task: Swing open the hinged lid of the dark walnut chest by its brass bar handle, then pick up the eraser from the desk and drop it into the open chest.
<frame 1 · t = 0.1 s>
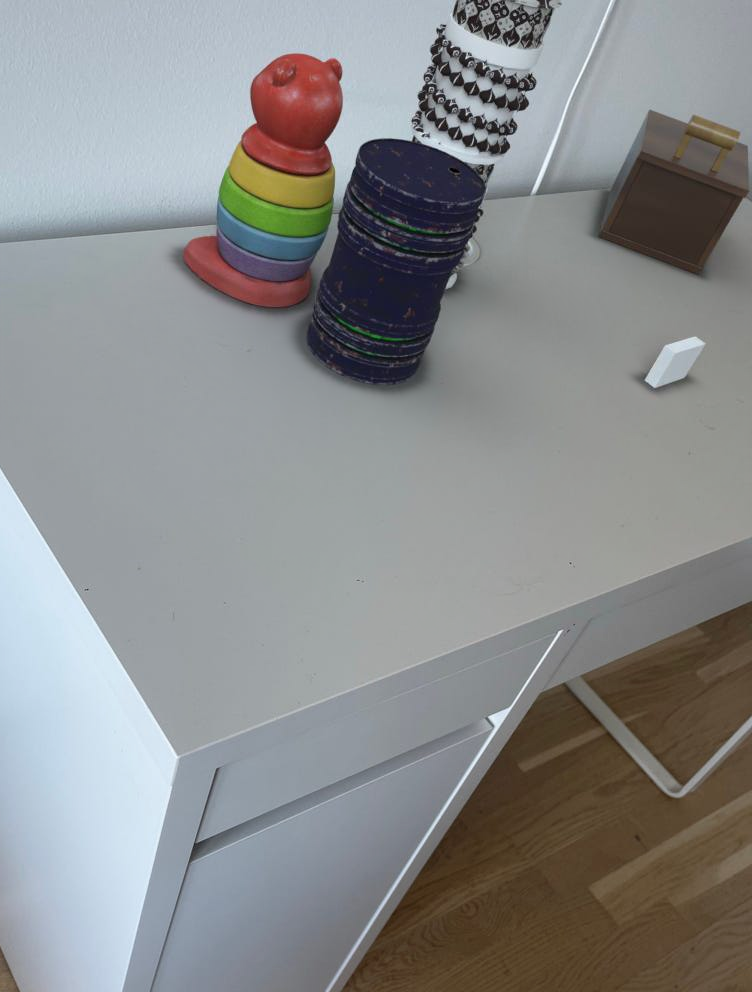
chest: (651, 232, 113), on the table
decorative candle: (412, 268, 94), on the table
lid: (704, 132, 104), point 11 cm above the table, hinge at 0.0°
eraser: (663, 380, 90), on the table
stacking bear: (255, 279, 86), on the table
storage jar: (362, 351, 82), on the table
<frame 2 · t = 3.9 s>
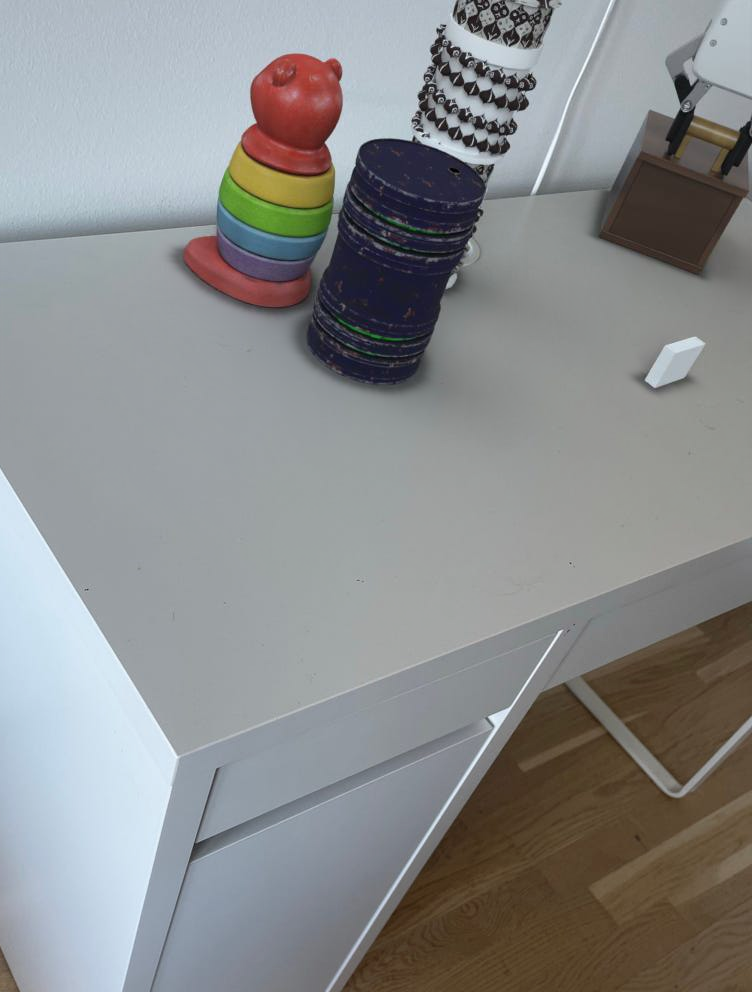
hand: (698, 158, 102), 10 cm above the table, tool pointing down, fingers closed on lid, 5 cm apart
lid: (704, 132, 104), point 11 cm above the table, hinge at 0.0°, touching gripper
everything else where it was.
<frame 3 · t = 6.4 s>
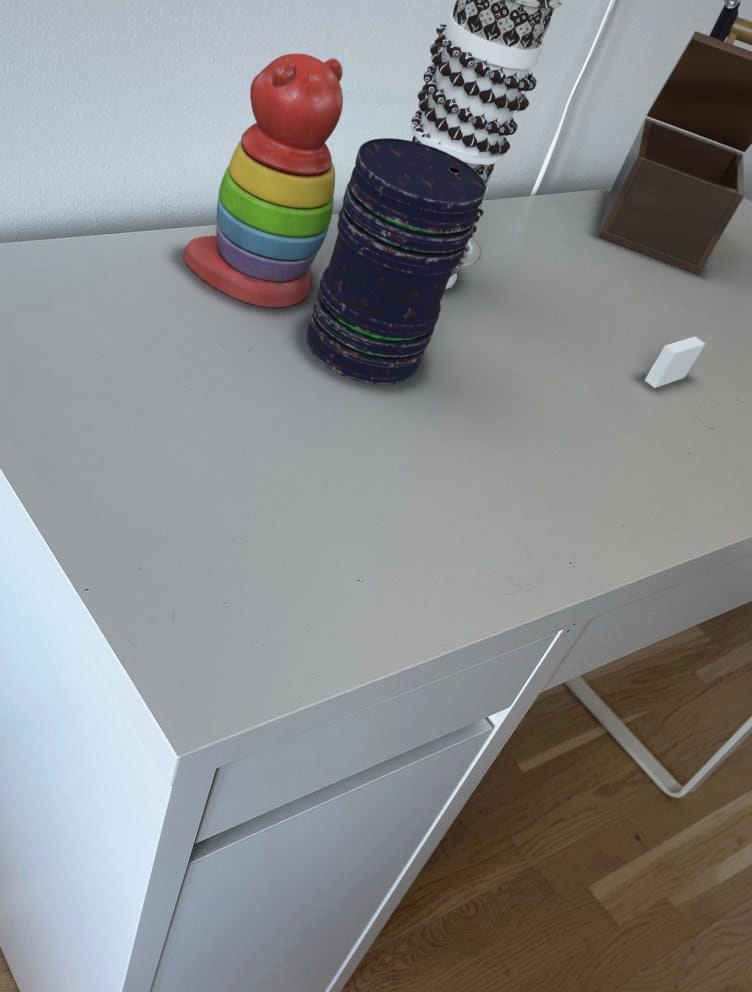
hand: (741, 59, 100), 18 cm above the table, tool pointing down, fingers closed on lid, 5 cm apart
lid: (729, 77, 103), point 16 cm above the table, hinge at 45.1°, touching gripper
everything else where it was.
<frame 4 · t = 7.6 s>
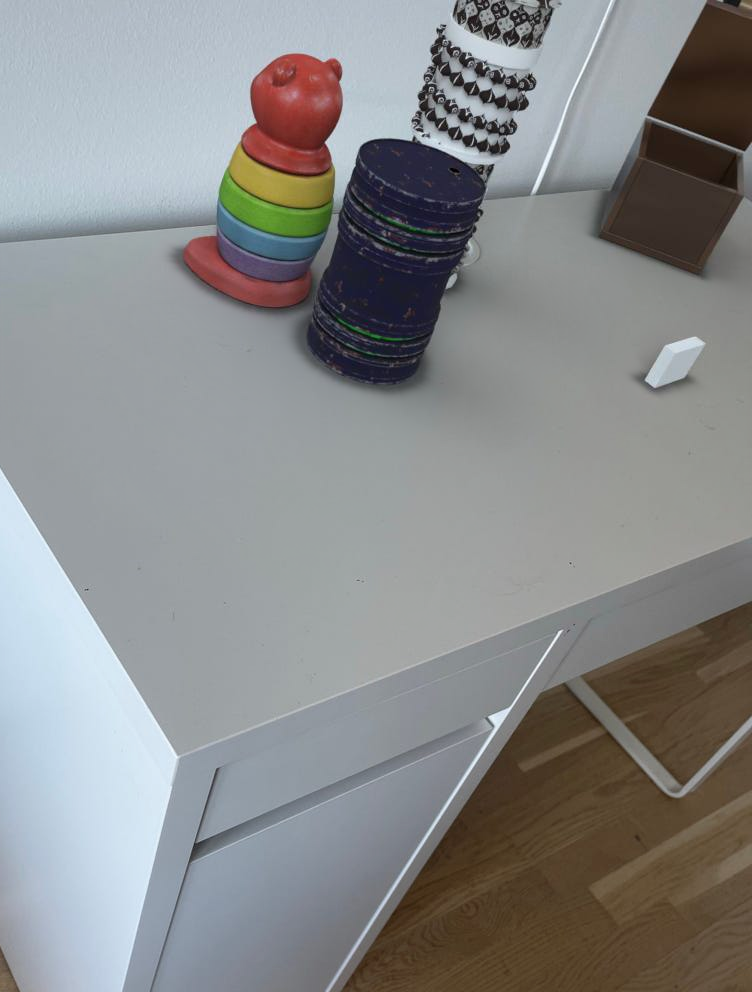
hand: (747, 38, 102), 19 cm above the table, tool pointing down, fingers closed on lid, 5 cm apart
lid: (733, 65, 104), point 17 cm above the table, hinge at 60.9°, touching gripper
everything else where it was.
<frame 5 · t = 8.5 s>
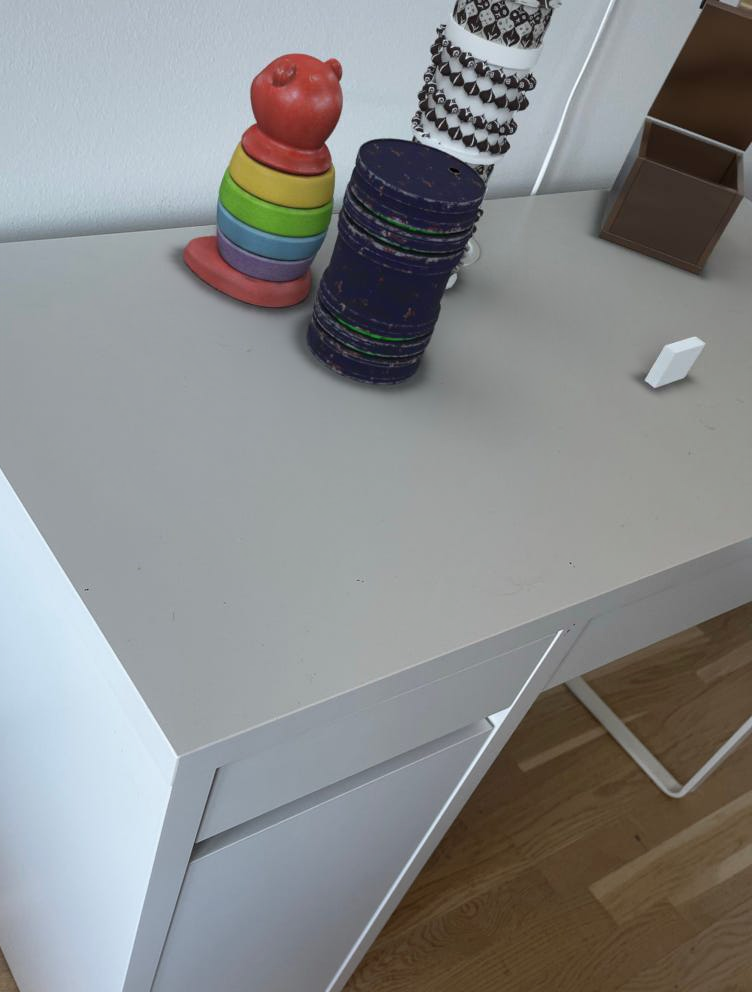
hand: (749, 35, 102), 19 cm above the table, tool pointing down, fingers open, 9 cm apart
lid: (733, 65, 104), point 17 cm above the table, hinge at 60.9°
everything else where it was.
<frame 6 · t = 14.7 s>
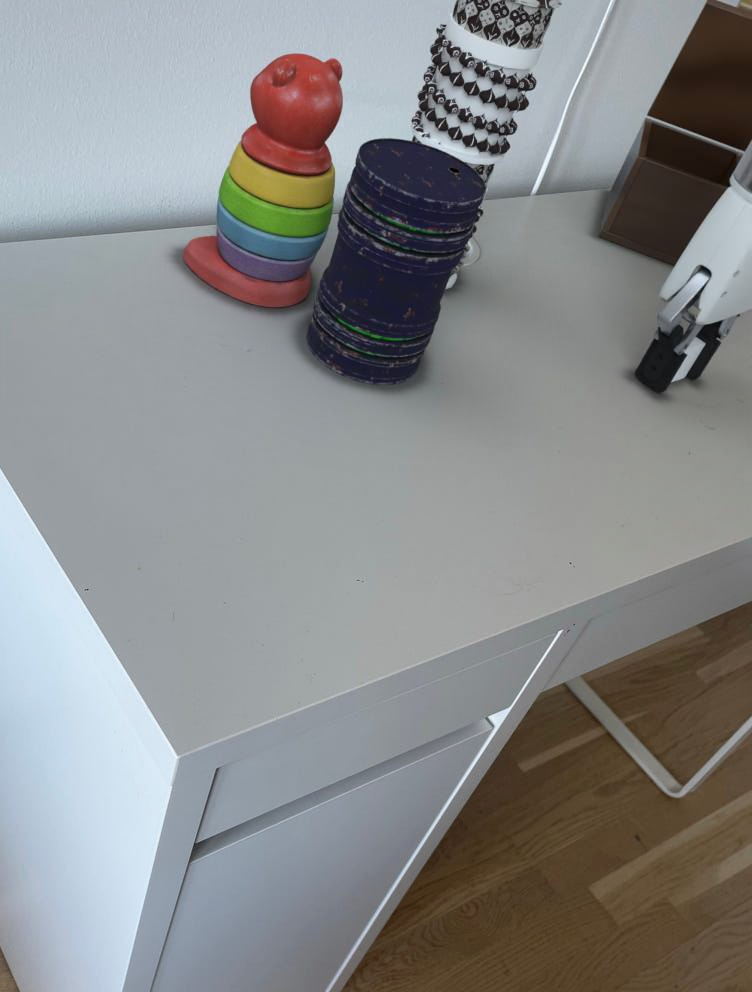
hand: (666, 375, 90), 0 cm above the table, tool pointing down, fingers closed on eraser, 4 cm apart
eraser: (663, 380, 90), on the table, touching gripper
everything else where it was.
when the fingers open (10 cm above the table, at t = 23.5 s): eraser drops 8 cm, resting on chest.
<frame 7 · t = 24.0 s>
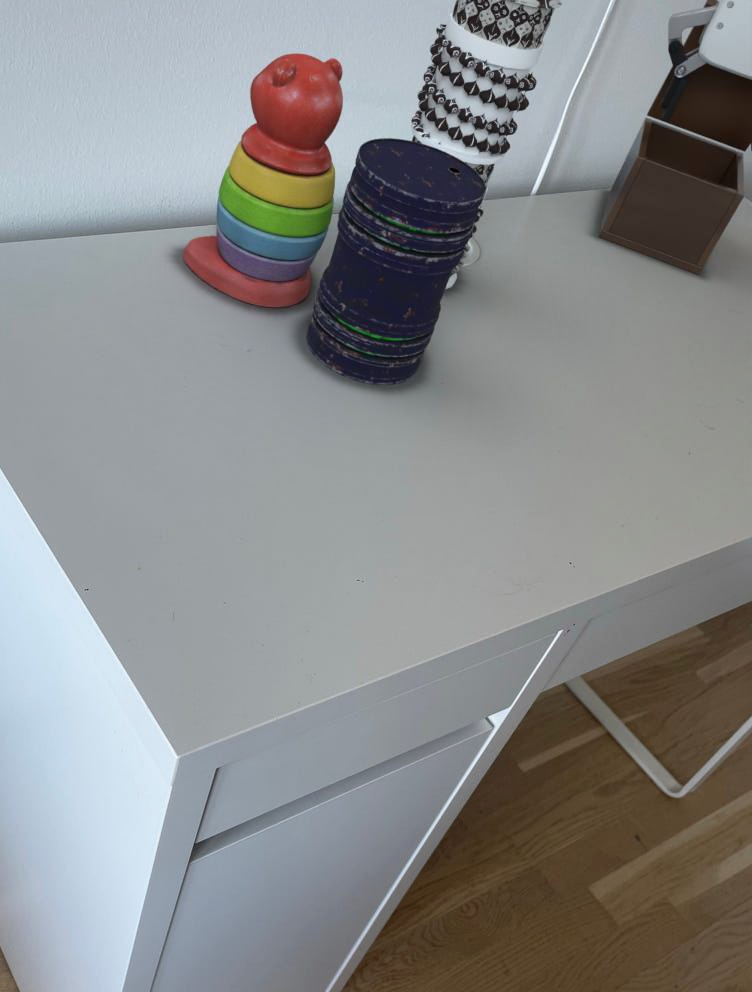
hand: (709, 133, 102), 12 cm above the table, tool pointing down, fingers open, 9 cm apart
eraser: (658, 229, 110), point 1 cm above the table, touching chest
everything else where it was.
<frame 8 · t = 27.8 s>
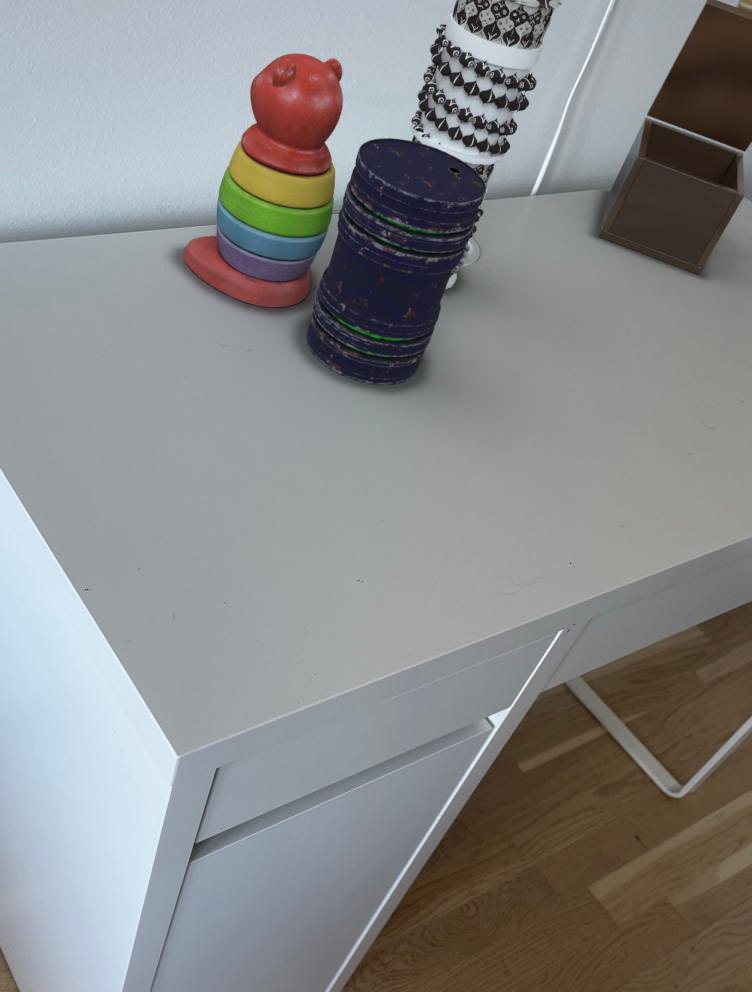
nothing on the table moved.
at the end: lid at +61° (first picture: +0°); eraser inside the target area in the chest (2.5 cm from its centre), point 1.4 cm above the chest's base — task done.
